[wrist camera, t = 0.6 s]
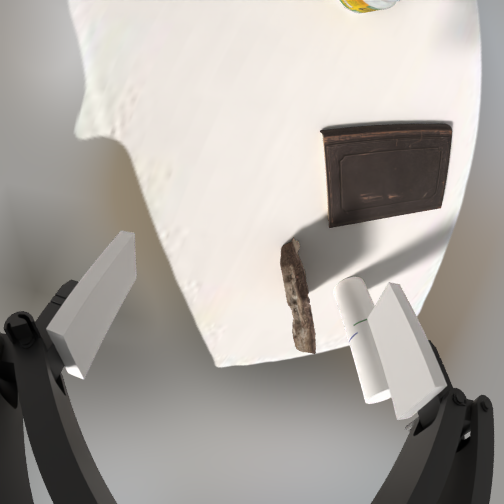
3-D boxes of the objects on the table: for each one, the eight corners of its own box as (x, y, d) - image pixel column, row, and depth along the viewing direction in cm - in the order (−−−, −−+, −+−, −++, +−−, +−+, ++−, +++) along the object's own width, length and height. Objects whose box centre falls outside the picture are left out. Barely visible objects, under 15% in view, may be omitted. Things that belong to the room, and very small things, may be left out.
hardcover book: (435, 201, 44) (441, 208, 42) (325, 220, 46) (329, 228, 44) (444, 122, 33) (452, 127, 32) (318, 129, 35) (323, 133, 33)
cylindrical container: (327, 295, 58) (357, 404, 39) (347, 273, 54) (387, 386, 35) (350, 301, 60) (382, 402, 41) (370, 281, 56) (411, 385, 37)
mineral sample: (306, 294, 57) (320, 358, 45) (287, 298, 57) (298, 362, 46) (297, 231, 46) (317, 302, 35) (273, 236, 47) (286, 308, 35)
